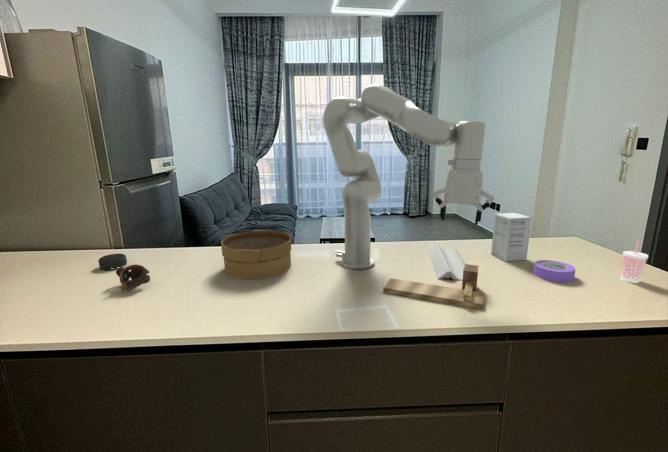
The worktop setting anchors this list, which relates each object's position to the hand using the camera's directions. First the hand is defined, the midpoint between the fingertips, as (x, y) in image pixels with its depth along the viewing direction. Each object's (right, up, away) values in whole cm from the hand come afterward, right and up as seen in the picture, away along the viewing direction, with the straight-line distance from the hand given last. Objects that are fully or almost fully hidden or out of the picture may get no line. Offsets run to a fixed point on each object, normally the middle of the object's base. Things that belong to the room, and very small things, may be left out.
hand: (459, 221), depth 103 cm
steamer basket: (-67, -17, +23) cm, 72 cm away
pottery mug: (-104, -21, +8) cm, 107 cm away
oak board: (-9, -22, -2) cm, 24 cm away
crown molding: (+4, -16, +24) cm, 29 cm away
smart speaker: (-123, -17, +26) cm, 126 cm away
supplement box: (+30, -14, +29) cm, 44 cm away
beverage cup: (+58, -19, +6) cm, 61 cm away
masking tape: (+36, -19, +11) cm, 42 cm away
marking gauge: (+2, -22, -3) cm, 22 cm away
